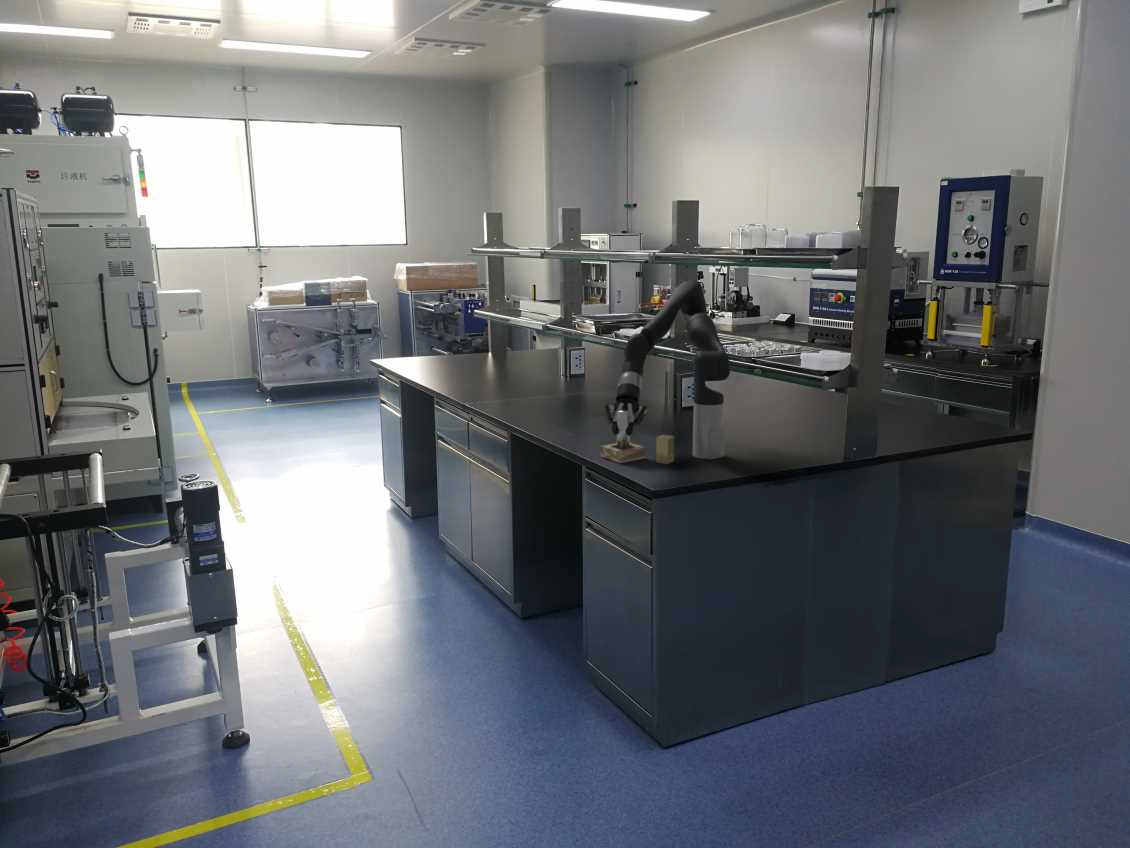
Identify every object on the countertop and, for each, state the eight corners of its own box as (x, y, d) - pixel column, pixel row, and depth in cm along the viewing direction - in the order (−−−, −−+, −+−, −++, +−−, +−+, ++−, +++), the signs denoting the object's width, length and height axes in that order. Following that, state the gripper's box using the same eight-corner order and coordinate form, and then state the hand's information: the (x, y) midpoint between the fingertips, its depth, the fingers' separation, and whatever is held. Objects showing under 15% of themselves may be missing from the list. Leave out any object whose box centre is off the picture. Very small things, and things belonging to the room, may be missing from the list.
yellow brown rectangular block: (673, 461, 264) (674, 436, 262) (667, 464, 260) (668, 438, 259) (662, 459, 266) (662, 434, 264) (656, 462, 263) (656, 437, 261)
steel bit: (632, 448, 268) (632, 411, 265) (622, 450, 265) (622, 412, 263) (624, 446, 271) (624, 409, 268) (614, 448, 269) (614, 410, 266)
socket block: (645, 458, 268) (645, 447, 267) (620, 463, 262) (620, 452, 261) (625, 451, 276) (625, 441, 275) (600, 456, 270) (600, 445, 269)
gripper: (652, 396, 275) (645, 441, 266) (609, 394, 279) (601, 439, 270) (650, 383, 269) (643, 429, 260) (606, 381, 273) (597, 426, 264)
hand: (621, 434), depth 265 cm, fingers closed on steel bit, 4 cm apart
